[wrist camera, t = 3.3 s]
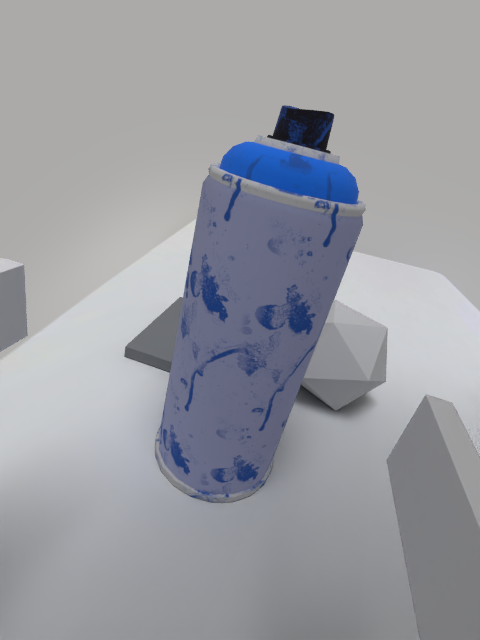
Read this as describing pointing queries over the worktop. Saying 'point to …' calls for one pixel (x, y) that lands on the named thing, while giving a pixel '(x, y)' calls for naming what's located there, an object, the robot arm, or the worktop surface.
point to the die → (347, 357)
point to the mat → (157, 339)
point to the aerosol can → (255, 303)
